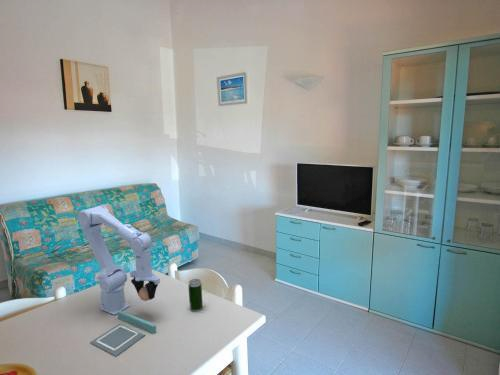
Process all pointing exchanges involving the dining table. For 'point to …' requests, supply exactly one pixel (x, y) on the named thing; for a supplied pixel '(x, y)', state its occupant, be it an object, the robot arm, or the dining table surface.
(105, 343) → the rubber mat
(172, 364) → the dining table surface
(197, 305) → the beer can
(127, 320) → the acrylic wall
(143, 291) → the ball
